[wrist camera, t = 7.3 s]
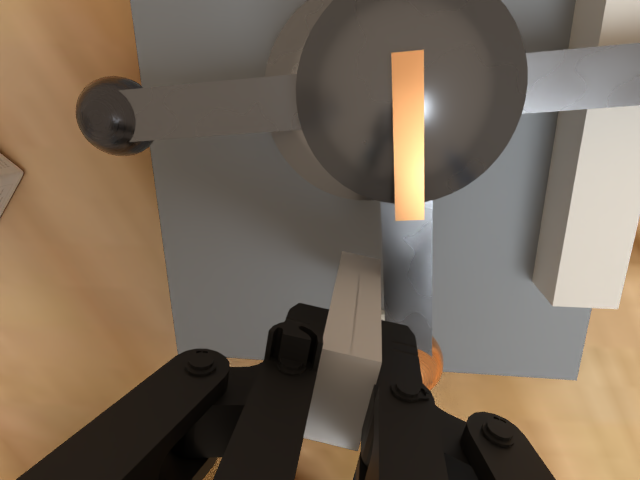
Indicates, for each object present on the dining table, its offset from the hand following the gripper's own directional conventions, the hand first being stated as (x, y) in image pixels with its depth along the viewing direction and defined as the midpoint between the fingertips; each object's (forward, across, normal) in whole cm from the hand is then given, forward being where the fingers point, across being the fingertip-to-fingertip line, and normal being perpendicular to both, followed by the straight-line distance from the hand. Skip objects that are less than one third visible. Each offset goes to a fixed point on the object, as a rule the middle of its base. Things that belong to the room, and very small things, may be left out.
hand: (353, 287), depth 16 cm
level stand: (+5, -1, +6) cm, 8 cm away
